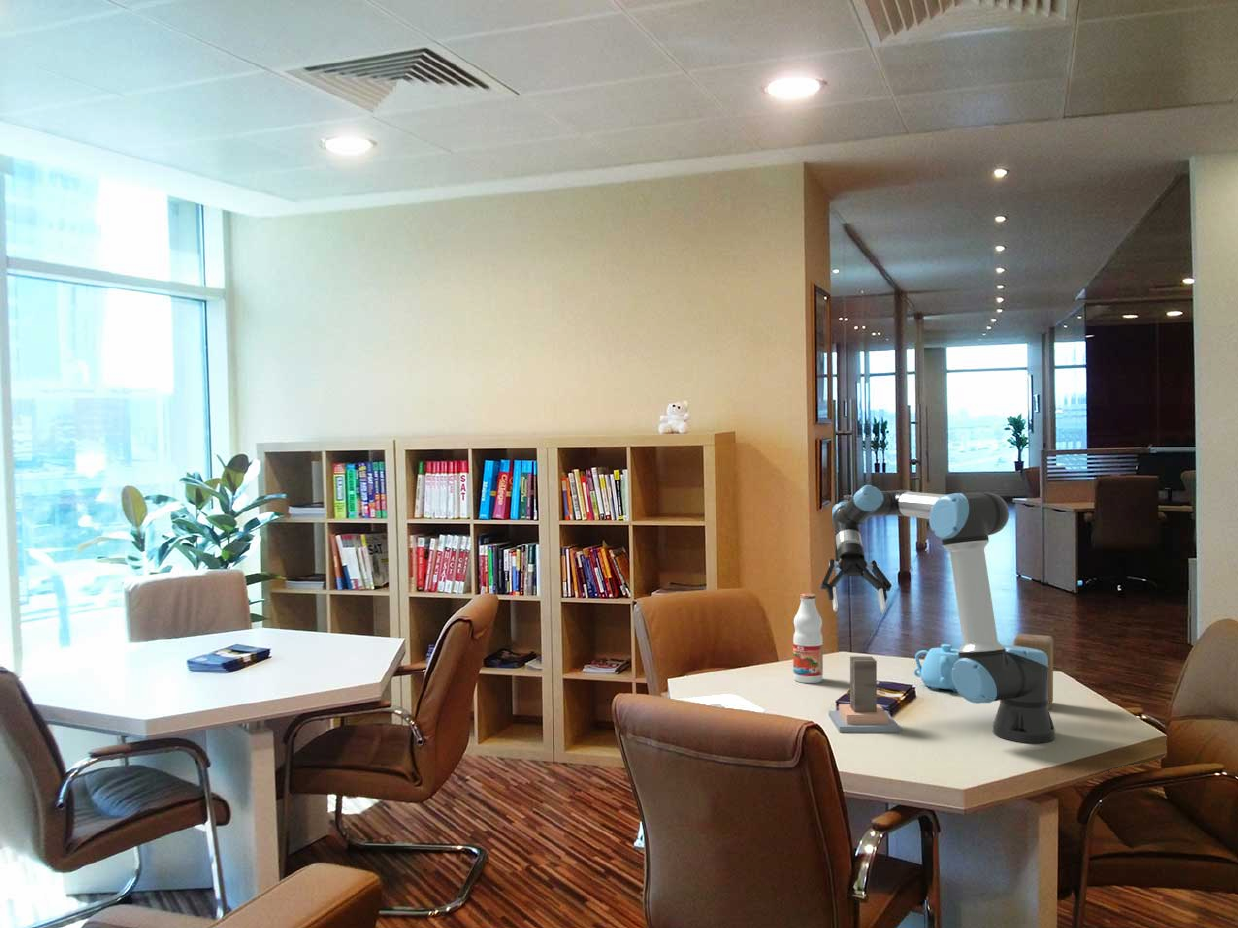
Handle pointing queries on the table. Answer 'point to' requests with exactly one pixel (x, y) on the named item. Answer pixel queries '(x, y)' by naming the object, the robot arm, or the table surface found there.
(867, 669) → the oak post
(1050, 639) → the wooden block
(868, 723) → the plinth
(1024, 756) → the table surface
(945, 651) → the decorative pot
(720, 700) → the computer
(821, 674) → the fruit juice
